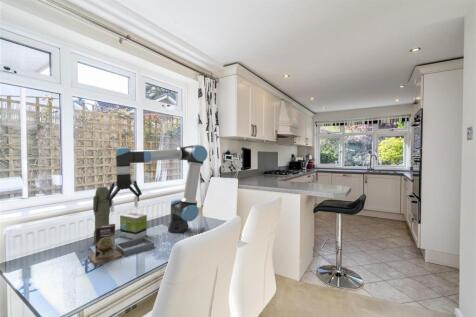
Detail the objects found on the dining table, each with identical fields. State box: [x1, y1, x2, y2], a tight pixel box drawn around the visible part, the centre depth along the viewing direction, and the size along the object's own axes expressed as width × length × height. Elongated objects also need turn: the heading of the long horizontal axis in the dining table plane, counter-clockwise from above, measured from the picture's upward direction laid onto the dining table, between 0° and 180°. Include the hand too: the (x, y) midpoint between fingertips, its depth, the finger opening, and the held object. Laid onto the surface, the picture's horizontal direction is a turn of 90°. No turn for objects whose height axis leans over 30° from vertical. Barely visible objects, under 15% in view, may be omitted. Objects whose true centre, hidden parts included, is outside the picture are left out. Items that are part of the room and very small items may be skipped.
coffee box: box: [94, 223, 116, 259], centre depth 122 cm, size 9×6×16 cm
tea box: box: [119, 212, 148, 240], centre depth 155 cm, size 15×10×15 cm, turn 68°
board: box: [87, 250, 123, 267], centre depth 122 cm, size 13×13×1 cm
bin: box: [115, 236, 155, 257], centre depth 134 cm, size 18×14×3 cm
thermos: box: [92, 186, 112, 244], centre depth 145 cm, size 9×12×35 cm
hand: (124, 209), depth 132 cm, fingers open, 13 cm apart
